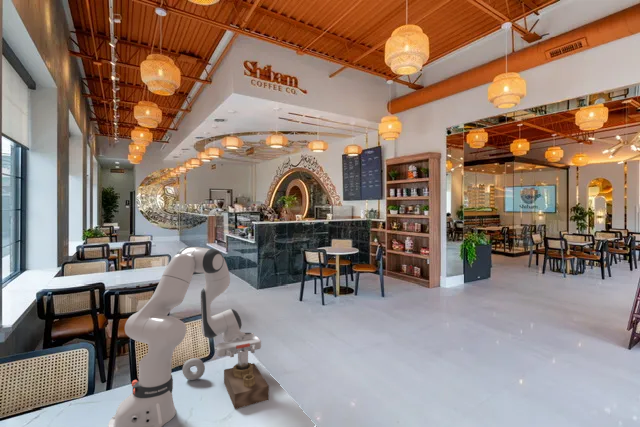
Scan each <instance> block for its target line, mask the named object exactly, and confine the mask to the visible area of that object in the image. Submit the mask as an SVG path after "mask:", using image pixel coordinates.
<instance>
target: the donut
mask: <svg viewBox="0 0 640 427" xmlns="http://www.w3.org/2000/svg"><path fill="white" fill-rule="evenodd" d="M205 366H206V365H205V363H204V361H203V360H202V359H199V358H198V357H197V358H196V357H193V358H190V359H187V360H186V361H185V362H184V363H183V365H182V374H183V376H184V377H185V379H187V380H189V381H195V380H198V379H200V378H201V377H202V376H203V375H204V373H205V370H206V367H205ZM191 367H195V368H196V371H192V370H191Z"/></svg>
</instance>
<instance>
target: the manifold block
mask: <svg viewBox="0 0 640 427" xmlns="http://www.w3.org/2000/svg"><path fill="white" fill-rule="evenodd" d="M223 384H224V386H225V389H226V392H227V393H228V396H229V398H230V401H231V403H232V406H233V408H234V410H237V409H241V408H244V407H245V408H246V407H247V406H251V405H255V404H258V403H263V402H265V401H269V398H270V396H269V395H270V392H269V391H270V385H269V384H268V382H267V381H266V379H265V378H264V376H263V374H262V373H261V371H260V370H259V368H258V367H257V365H256V363H254V362H253V363H251V362H248V369H245V370H239V369H238V363H236V364H235V365H234V366H233V367H231V368H225V369H223Z"/></svg>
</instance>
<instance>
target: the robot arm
mask: <svg viewBox="0 0 640 427" xmlns="http://www.w3.org/2000/svg"><path fill="white" fill-rule="evenodd" d="M194 273H198V274H204V275H203V276H204V278H205V284H204V287H203V288H202V289H201V292H200V310H201V323H200V324H201V326H200V327H201V333H202V335H203V336H204V337H205V338H207V339H213V338H216V337H217V336H218V335H222V340H223V342H219V343H218V344H216V345H215V346H214V350H216V355H217V357H219V358H221V357H227V356H228V357H230V358H234V357H235V354H237V355H238V350H239V349H242V348H239V349H236V346H237V345H242V344H248V343H250V346H249V347H244V348H246V349H248V352H250V354H254V353H255V352H256V351H257V350H260V349H261V347H262V341H261V339H260V338H259V337H258V336H257V335H255V334H254V333H253V332H243V331H241V328H242V324H243V323H242V319H241V317H240V315H239V313H238V311H237V310H235V309H234V308H229V309H227V310H224V311H222V312H219V313H216V314H214V315H212V312H211V304H212V303H213V301H214V300H215V299H216V298H218V297H219V296H220V295H222V294H223V293H224V292H225V291H226V290H227V289H228V288H229V286H230V283H231V277H230V271H229V268H228V265H227V261H226V259H225V258H224V255H223V254H222V252H220V251H219V250H217V249H215V248H207V247H202V246H194V247H193V246H184V247H182V248H181V249H179V250H178V251H177V252H176V254H175V255H174V256H173V257H172V258H171V259H170V261H169V263H168V264H167V265H166V268H165V269H164V271H163V274H162V275H161V278H160V280H159V281H158V282H159V283H158V284H157V286H156V288H155V291H154V292H153V294H152V296H151V297H150V298H149V300H148V301H147V302H146V304H144V305H143V307H142V308H140V309H139V310H138V311H137V312H135V313H133V314H132V315H130V316H129V317H128V319H127V320H126V321H125V324H124V332H125V335H126V336H127V337H128V338H129V339H132V340H134V342H135V341H136V342H138V343H142V344H147V346H148V349H147V350H148V351H147V353H146V354H145V355H144V356H143V357H142V358H141V359H140V360H139V363H138V380H137V379H134V380H132V381H131V387H132V393H131V394H130V395H129V396H126V398H125V399H124V400H122V401H121V402H120V403H119V405H118V407H117V409H116V412H115V414H114V415H113V416H112V417H111V418H110V420H109V421H108V423H107V427H163V426H164V425H165V424H167V423H168V422H170V421H171V420H172V419H173V418H174V417H175V416H176V413H177V409H176V406H175V402H174V397H173V389H174V379H173V375H172V361H173V354H174V351H175V349H176V348H177V346H179V345H180V344H181V343H182V342H183V341H184V339H185V336H186V335H187V334H186V333H187V327H186V324H185V322H184V321H182V320H180V319H179V318H177V317H175V316H171V315H168V314H170V312H171V311H172V310H173V309H174V308H176V307H179V306H180V305H181V304H182V303H183V301H184V299H185V297H186V294H187V291H188V290H189V287H190V284H191V281H192V279H193V275H194Z"/></svg>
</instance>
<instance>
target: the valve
mask: <svg viewBox="0 0 640 427" xmlns="http://www.w3.org/2000/svg"><path fill="white" fill-rule="evenodd" d="M249 346H250V343H248V344H242V345H237V346H236V349H239V348H242V349H239V350H238V353H237V364H238V369H239V370H245V369H248V363H249V351H248V349H246V348H244V347H249Z"/></svg>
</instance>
